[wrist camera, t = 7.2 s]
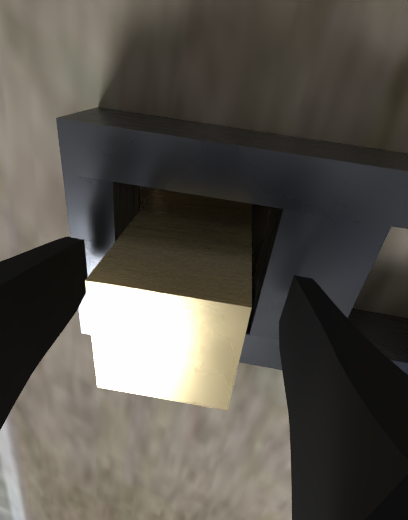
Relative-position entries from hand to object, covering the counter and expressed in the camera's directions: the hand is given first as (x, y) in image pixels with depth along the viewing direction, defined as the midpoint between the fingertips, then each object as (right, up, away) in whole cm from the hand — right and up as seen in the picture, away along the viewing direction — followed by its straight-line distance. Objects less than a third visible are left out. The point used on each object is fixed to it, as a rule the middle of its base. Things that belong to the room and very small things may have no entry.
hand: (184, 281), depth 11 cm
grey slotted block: (+5, +1, +3) cm, 6 cm away
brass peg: (0, +2, +3) cm, 4 cm away
